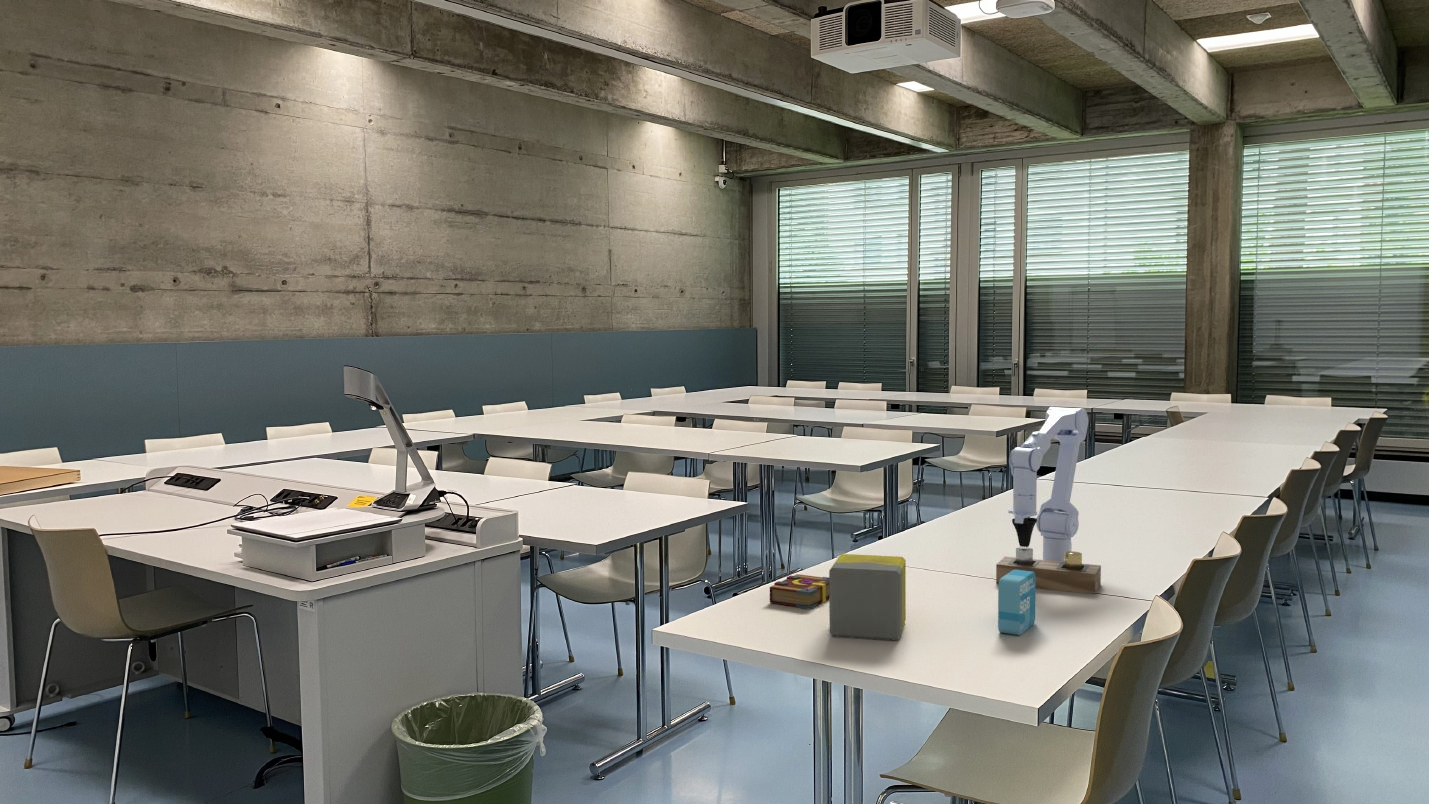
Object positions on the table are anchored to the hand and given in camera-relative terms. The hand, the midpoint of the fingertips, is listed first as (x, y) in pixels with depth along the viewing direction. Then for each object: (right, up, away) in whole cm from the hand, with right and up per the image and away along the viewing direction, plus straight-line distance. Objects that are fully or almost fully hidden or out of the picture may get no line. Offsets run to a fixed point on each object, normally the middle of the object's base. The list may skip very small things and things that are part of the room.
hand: (1024, 546), depth 260 cm
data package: (-14, -13, -39) cm, 44 cm away
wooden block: (+5, -9, -2) cm, 11 cm away
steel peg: (0, -6, 0) cm, 6 cm away
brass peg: (+11, -6, -5) cm, 13 cm away
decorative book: (-58, -12, -13) cm, 60 cm away
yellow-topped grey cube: (-45, -13, -34) cm, 58 cm away
